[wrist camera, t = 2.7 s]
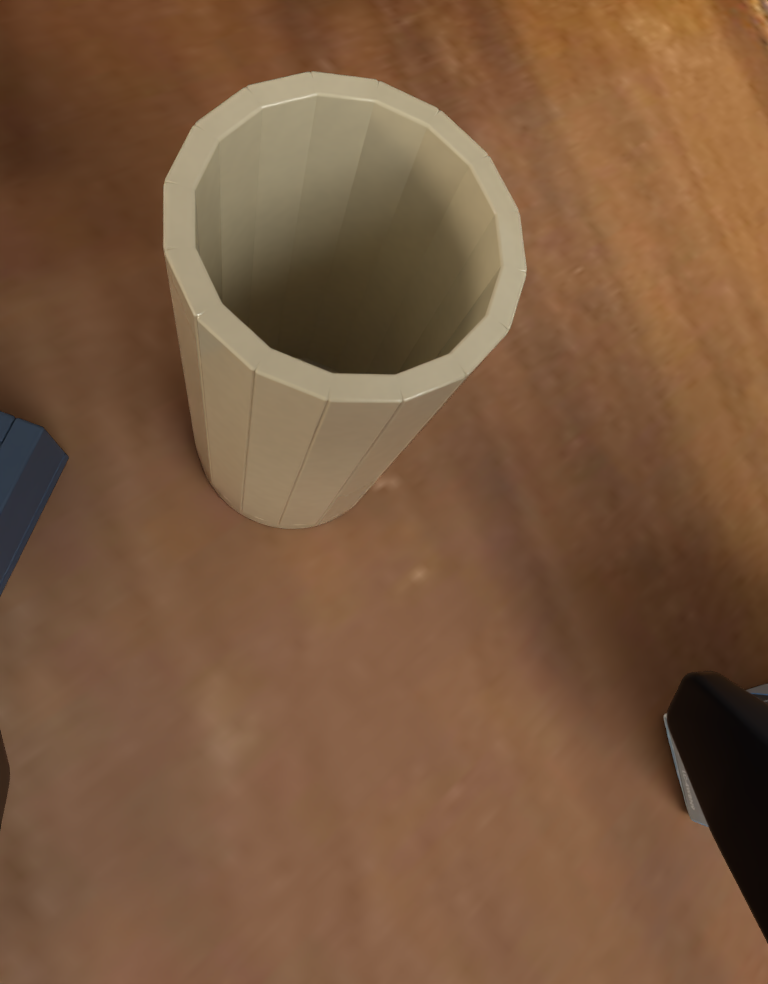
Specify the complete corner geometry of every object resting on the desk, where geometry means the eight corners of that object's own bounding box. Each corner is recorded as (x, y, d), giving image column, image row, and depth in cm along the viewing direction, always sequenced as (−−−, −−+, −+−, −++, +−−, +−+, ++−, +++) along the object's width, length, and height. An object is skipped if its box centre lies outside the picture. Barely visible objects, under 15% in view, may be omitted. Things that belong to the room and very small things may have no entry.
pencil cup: (403, 394, 24) (561, 164, 13) (347, 556, 22) (471, 458, 11) (238, 327, 23) (247, 16, 12) (166, 489, 21) (96, 308, 10)
